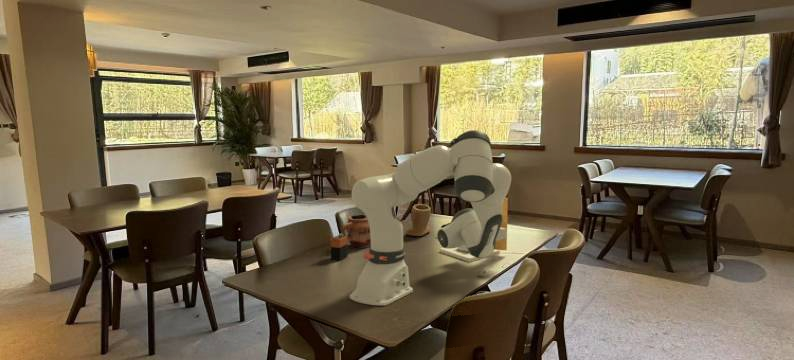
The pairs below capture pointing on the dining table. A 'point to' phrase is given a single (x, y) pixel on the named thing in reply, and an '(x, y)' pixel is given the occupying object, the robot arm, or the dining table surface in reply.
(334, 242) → the battery
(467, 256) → the base plate
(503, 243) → the orange post with disc
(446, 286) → the dining table surface
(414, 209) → the stone cup
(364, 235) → the decorative planter
